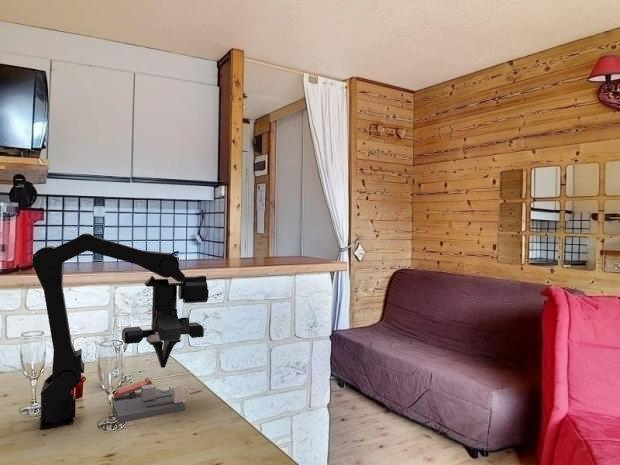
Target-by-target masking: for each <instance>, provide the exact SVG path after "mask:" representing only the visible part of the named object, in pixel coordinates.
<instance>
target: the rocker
mask: <svg viewBox="0 0 620 465" xmlns="http://www.w3.org/2000/svg"><path fill="white" fill-rule="evenodd" d="M151 384H153V382H152V381H151V379H150V378H149V377H145V378H144V380H142V381H141V380H140V381H139V382H135V383H133V384H130V385H127V386H124V387H122V388H117V391H116V393H115V394H114V395H113V396H114V397H115V398H117V397H120V396H123V395H126V394H129V393H132V392H134V391H135V392H138V391H139V390H140V391H141V386H144V385H151Z"/></svg>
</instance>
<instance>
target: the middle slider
mask: <svg viewBox="0 0 620 465" xmlns="http://www.w3.org/2000/svg"><path fill="white" fill-rule="evenodd" d="M156 387H157V386H156V385H155V384H154V383H152V384H151V385H144V386H141V389H140V392H141V399H142V400H143V401H147V400H153V399H156V389H157V388H156Z"/></svg>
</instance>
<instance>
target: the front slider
mask: <svg viewBox="0 0 620 465" xmlns="http://www.w3.org/2000/svg"><path fill="white" fill-rule="evenodd" d="M171 389H172V401H173V402H174V403H180V402H183V403H185V402H187V401H188V388H187V387H186V386H184V385H183V386H177V387H171Z"/></svg>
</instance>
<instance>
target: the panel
mask: <svg viewBox="0 0 620 465" xmlns="http://www.w3.org/2000/svg"><path fill="white" fill-rule="evenodd" d="M113 410H114V411H113ZM185 410H186V405H185V402H180V403H174V402H173V401H172V387H171V386H164V387H160V388H156V399H153V400H147V401H143V400H142V399H141V391H134V392H132V393H129V394H126V395H123V396H120V397H117V398H115V397H114V398H113V409H112V411H113V413H114V415H115V416H114V417H115V418H116V420H117V423H125V422H130V421H134V420H141V419H147V418H153V417H157V416H164V415H167V414H168V415H169V414H172V413H173V414H174V413H179V412H185Z"/></svg>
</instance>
